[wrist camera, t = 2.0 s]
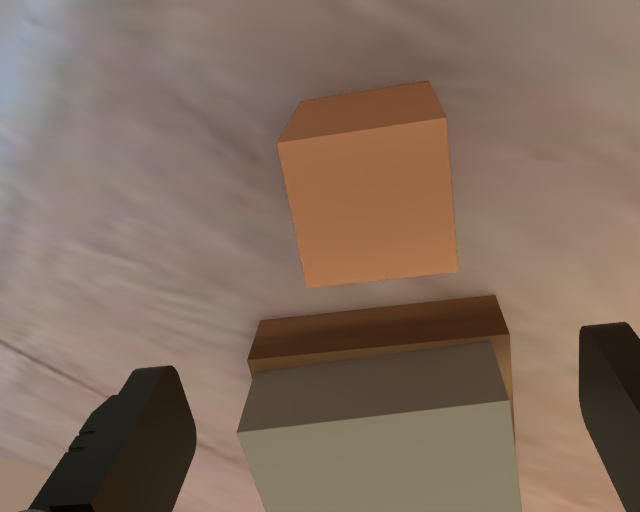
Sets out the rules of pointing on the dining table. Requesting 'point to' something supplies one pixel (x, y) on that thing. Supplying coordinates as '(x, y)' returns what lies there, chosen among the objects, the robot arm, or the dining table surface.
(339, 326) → the walnut slab
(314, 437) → the grey slab
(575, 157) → the dining table surface
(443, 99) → the dining table surface
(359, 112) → the terracotta block
